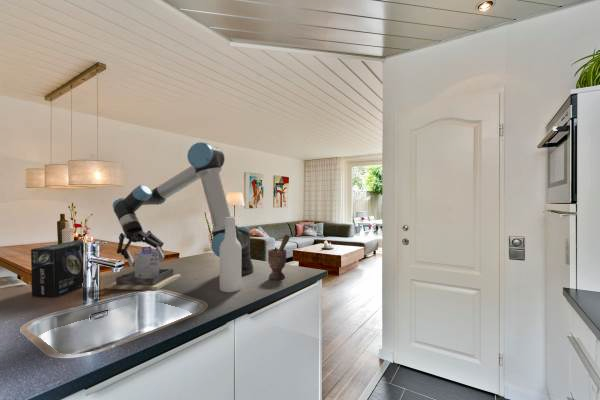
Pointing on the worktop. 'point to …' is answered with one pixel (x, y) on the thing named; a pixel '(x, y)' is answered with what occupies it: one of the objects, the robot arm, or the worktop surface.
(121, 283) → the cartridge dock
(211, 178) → the robot arm
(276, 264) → the mortar and pestle
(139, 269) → the ink cartridge box
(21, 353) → the worktop surface
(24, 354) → the worktop surface
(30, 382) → the worktop surface
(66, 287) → the box
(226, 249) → the alcohol
